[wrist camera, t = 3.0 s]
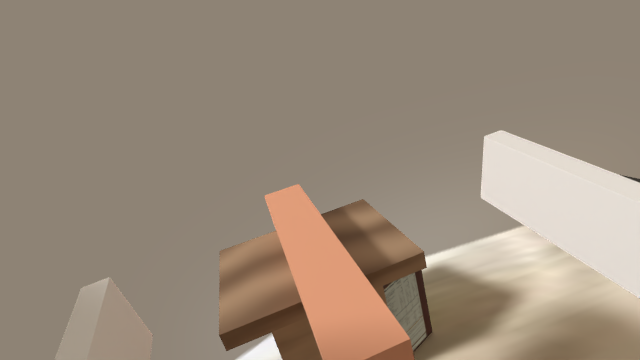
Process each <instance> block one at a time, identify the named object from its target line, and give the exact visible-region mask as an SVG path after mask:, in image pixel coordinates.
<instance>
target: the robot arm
mask: <svg viewBox="0 0 640 360" xmlns="http://www.w3.org/2000/svg"><path fill="white" fill-rule="evenodd" d="M481 198H482V199H484V200H485V201H487V202H489V203H490V204H492V205H493V206H495V207H496V208H498V209H500V210H501V211H503V212H504V213H506V214H507V215H509V216H510V217H512V218H514V219H515V220H517V221H519V222H520V223H522V224H523V225H525V226H526V227H528V228H529V229H531V230H533V231H534V232H536V233H537V234H539V235H540V236H542V237H544V238H545V239H547V240H548V241H550V242H551V243H553V244H555V245H556V246H558V247H559V248H561V249H562V250H564V251H566V252H567V253H569V254H570V255H572V256H573V257H575V258H577V259H578V260H580V261H581V262H583V263H584V264H586V265H588V266H589V267H591V268H592V269H594V270H595V271H597V272H599V273H600V274H602V275H603V276H605V277H607V278H608V279H610V280H611V281H613V282H614V283H616V284H618V285H619V286H621V287H622V288H624V289H625V290H627V291H629V292H630V293H632V294H633V295H635V296H636V297H638V298H640V179H637V178H632V177H627V176H622V175H618V174H615V173H613V172H610V171H607V170H605V169H602V168H600V167H597V166H594V165H591V164H589V163H586V162H584V161H581V160H578V159H576V158H573V157H571V156H568V155H565V154H563V153H560V152H557V151H555V150H552V149H549V148H547V147H544V146H542V145H539V144H536V143H534V142H531V141H529V140H526V139H523V138H520V137H518V136H515V135H513V134H510V133H508V132H505V131H502V130H500V131H498V132H495V133H492V134H489V135H487V136H485V137H484V149H483V166H482V183H481ZM152 337H153V335H152V334H151V332H150V331H149V329H148V328H147V327H146V326H145V324H144V323H143V321H142V320H141V319H140V318H139V316H138V315H137V314H136V312H135V311H134V309H133V308H132V307H131V305H130V304H129V303H128V301H127V300H126V299H125V297H124V296H123V294H122V293H121V292H120V290H119V289H118V288H117V286H116V285H115V284H114V282H113V281H112V280H111V278H110V277H109V278H106V279H103V280H101V281H98V282H96V283H93V284H90V285H87V286H85V287H82V288H81V290H80V293H79V296H78V298H77V301H76V304H75V306H74V309H73V312H72V314H71V317H70V320H69V323H68V325H67V328H66V331H65V333H64V336H63V339H62V341H61V344H60V347H59V350H58V352H57V355H56V357H55V360H150V356H151V347H152Z"/></svg>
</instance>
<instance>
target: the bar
mask: <svg viewBox="0 0 640 360" xmlns="http://www.w3.org/2000/svg"><path fill="white" fill-rule="evenodd" d="M265 199H266V202H267V205H268V208H269V211H270V214H271V217H272V220H273V223H274V225H275V228H276V231H277V234H278V237H279V240H280V242H281V245H282V248H283V251H284V253H285V256H286V259H287V262H288V265H289V267H290V270H291V273H292V276H293V279H294V281H295V284H296V287H297V290H298V292H299V295H300V298H301V301H302V304H303V306H304V309H305V312H306V315H307V317H308V320H309V323H310V326H311V329H312V331H313V334H314V337H315V340H316V343H317V345H318V348H319V351H320V354H321V356H322V359H323V360H414V355H413V350H412V345H411V340H410V338H409V336H408V335H407V333H406V332H405V331H404V329H403V328H402V327H401V325H400V324H399V322H398V321H397V320H396V318H395V317H394V315H393V314H392V313H391V311H390V310H389V309H388V307H387V306H386V304H385V303H384V302H383V300H382V299H381V297H380V296H379V295H378V293H377V292H376V291H375V289H374V288H373V286H372V285H371V284H370V282H369V281H368V279H367V278H366V277H365V275H364V274H363V273H362V271H361V270H360V268H359V267H358V266H357V264H356V263H355V261H354V260H353V259H352V257H351V256H350V255H349V253H348V252H347V250H346V249H345V248H344V246H343V245H342V243H341V242H340V241H339V239H338V238H337V237H336V235H335V234H334V232H333V231H332V230H331V228H330V227H329V225H328V224H327V223H326V221H325V220H324V219H323V217H322V216H321V214H320V213H319V212H318V210H317V209H316V208H315V206H314V205H313V204H312V202H311V201H310V199H309V198H308V196H307V195H306V194H305V192H304V191H303V189H302V188H301V187H300V185H299V184H297V185H294V186H291V187H288V188H285V189H283V190H280V191H277V192H274V193H271V194H268V195H265Z"/></svg>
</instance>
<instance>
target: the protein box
mask: <svg viewBox="0 0 640 360" xmlns="http://www.w3.org/2000/svg"><path fill="white" fill-rule="evenodd" d="M383 288H384V293H385V297H386V302H387V306H388V309H389V310H390V311H391V313H392V314H393V315H394V317H395V318H396V320H397V321H398V322H399V324H400V325H401V327H402V328H403V329H404V331H405V332H406V333H407V335H408V336H409V338H410V340H411V345H412V350H413V352H414V351H415V350H416V348H417V347H418V346H419V345H420V344H421V343H422V342H423V341H424V340H425V339H426V337H427V336H428V335H429V334H430V333H431V332H432V327H431V322H430V316H429V311H428V305H427V299H426V294H425V288H424V282H423V277H422V271H421V270H420V271H417V272H415V273H412V274H410V275H408V276H405V277H403V278H400V279H398V280H396V281H393V282H391V283H388V284H386V285H384V286H383Z"/></svg>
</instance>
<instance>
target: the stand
mask: <svg viewBox="0 0 640 360" xmlns="http://www.w3.org/2000/svg"><path fill="white" fill-rule="evenodd" d="M321 216H322V217H323V219H324V220H325V221H326V223H327V224H328V225H329V227H330V228H331V230H332V231H333V232H334V234H335V235H336V237H337V238H338V239H339V241H340V242H341V243H342V245H343V246H344V248H345V249H346V250H347V252H348V253H349V255H350V256H351V257H352V259H353V260H354V261H355V263H356V264H357V266H358V267H359V268H360V270H361V271H362V273H363V274H364V275H365V277H366V278H367V279H368V281H369V282H370V284H371V285H372V286H373V288H374V289H375V291H376V292H377V293H378V295H379V296H380V297H381V299H382V300H383V302H384V303H385V304H386V306H387V302H386V297H385V293H384V288H383V286H384V285H386V284H388V283H391V282H393V281H396V280H398V279H400V278H403V277H405V276H408V275H410V274H412V273H415V272H417V271H420V270H422V269H424V268H427V267H426V261H425V255H424V251H423V250H421V249H420V248H419V247H418V246H417V245H415V244H414V243H413V242H412V241H411V240H410V239H409V238H407V237H406V236H405V235H404V234H403V233H401V231H399V230H398V229H397V228H396V227H395V226H393V225H392V224H391V223H390V222H389V221H388V220H387V219H385V218H384V217H383V216H382V215H381V214H379V213H378V212H377V211H376V210H375V209H374V208H373V207H372V206H370V205H369V204H368V203H367V202H366V201H365V200H363V199H362V200H359V201H357V202H354V203H351V204H348V205H346V206H343V207H340V208H337V209H335V210H332V211H329V212H327V213H324V214H321ZM219 289H220V290H219V292H220V293H219V336H220V338H221V340H222V342H223V344H224V346H225V349H226V351H228V350H230V349H233V348H235V347H237V346H240V345H242V344H245V343H247V342H249V341H252V340H254V339H257V338H259V337H262V336H264V335H266V334H268V333H271V332H272V334H273V336H274V339H275V341H276V344H277V347H278V349H279V352H280V354H281V357H282V359H283V360H323V359H322V356H321V354H320V351H319V348H318V345H317V343H316V340H315V337H314V334H313V331H312V329H311V326H310V323H309V320H308V317H307V315H306V312H305V309H304V306H303V304H302V301H301V298H300V295H299V292H298V290H297V287H296V284H295V281H294V279H293V276H292V273H291V270H290V267H289V265H288V262H287V259H286V256H285V253H284V251H283V248H282V245H281V242H280V240H279V237H278V234H277V231H274V232H271V233H269V234H266V235H263V236H260V237H257V238H254V239H252V240H249V241H247V242H243V243H241V244H238V245H235V246H232V247H230V248H227V249H224V250H221V251H220V288H219ZM387 307H388V306H387Z"/></svg>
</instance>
